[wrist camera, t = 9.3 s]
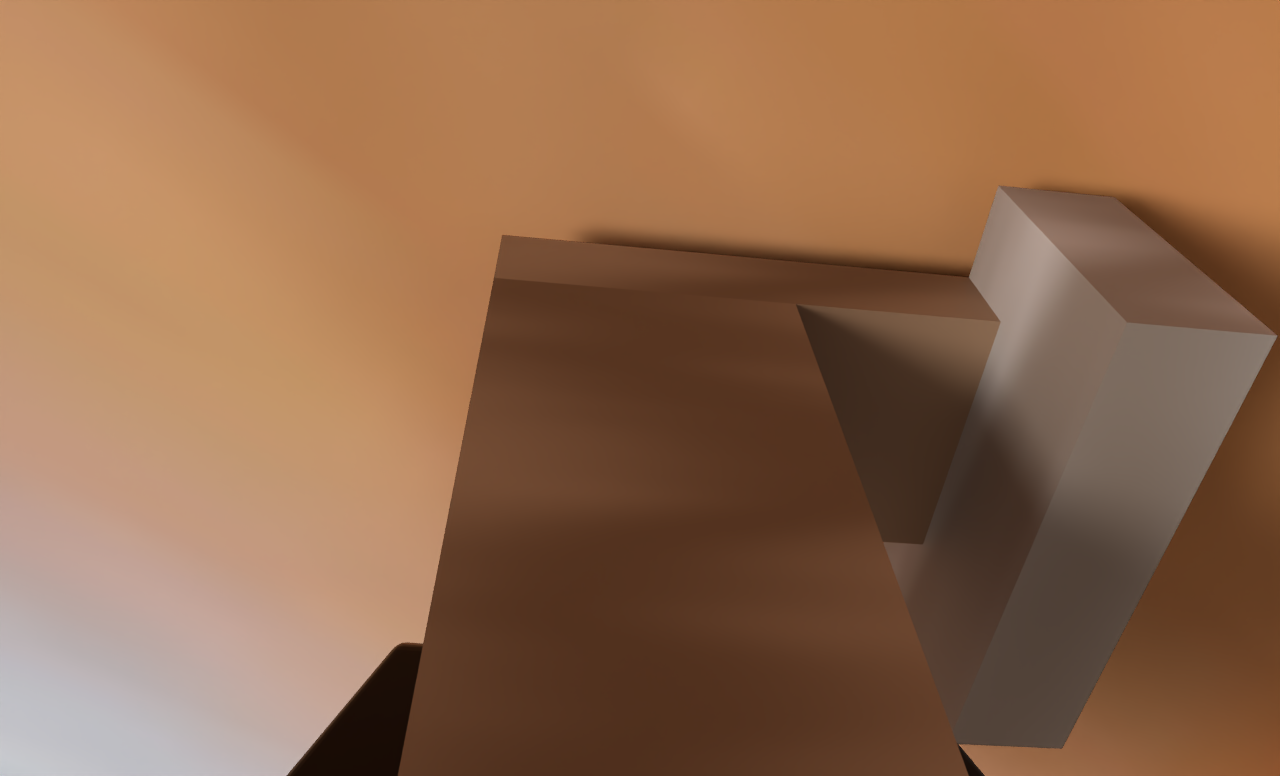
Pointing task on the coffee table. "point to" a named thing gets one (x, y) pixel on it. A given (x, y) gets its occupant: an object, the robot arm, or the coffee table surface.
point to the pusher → (816, 499)
